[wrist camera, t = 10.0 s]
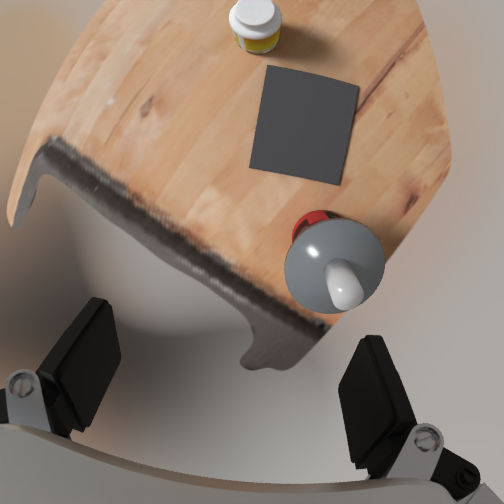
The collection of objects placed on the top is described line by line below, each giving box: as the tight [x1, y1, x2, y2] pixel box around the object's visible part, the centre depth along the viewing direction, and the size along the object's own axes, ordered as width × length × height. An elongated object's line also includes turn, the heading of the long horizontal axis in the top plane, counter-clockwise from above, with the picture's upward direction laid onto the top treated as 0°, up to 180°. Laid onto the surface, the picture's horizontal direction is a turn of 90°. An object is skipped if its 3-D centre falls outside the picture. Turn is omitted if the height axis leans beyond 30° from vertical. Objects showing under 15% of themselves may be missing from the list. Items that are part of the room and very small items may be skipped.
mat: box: [249, 65, 359, 185], centre depth 35 cm, size 14×12×1 cm
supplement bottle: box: [229, 0, 282, 54], centre depth 26 cm, size 6×6×10 cm
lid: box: [284, 218, 385, 314], centre depth 29 cm, size 11×11×6 cm
